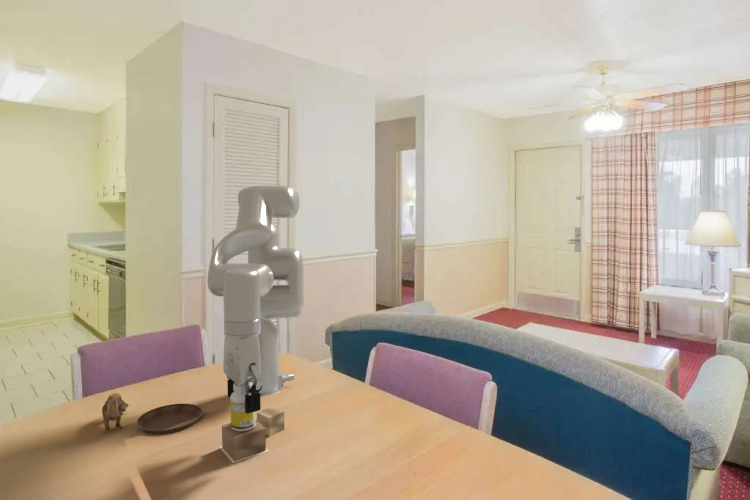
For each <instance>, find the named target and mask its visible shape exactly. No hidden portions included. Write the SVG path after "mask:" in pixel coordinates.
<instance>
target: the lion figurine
mask: <svg viewBox="0 0 750 500" xmlns="http://www.w3.org/2000/svg"><path fill="white" fill-rule="evenodd" d="M127 408H129V404H128V403H126V402H125V401H124V400H123V399H122V395H121V394H120V393H117V392H113V393H111V394H109V395H108V397H107V399H106V401H105V402H104V404H103V406H102V407H101V413H102V418H103V423H104V429H103V432H104V433H109V432H110V429H111V426H110V423H109V422H112V421H115V428H116V429H117V430H120V429H122V428H123V425H121V419H122V418H121V417H122V415H124V413H125V412H127V411H126V410H127Z"/></svg>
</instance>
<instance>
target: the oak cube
mask: <svg viewBox="0 0 750 500" xmlns="http://www.w3.org/2000/svg"><path fill="white" fill-rule="evenodd" d="M256 414H257V421H258V422H259V423H260V424H261V425H262V426H263V427H265V428H266V437H272V436H274V435H276V434H278V433H280V432H282V431H284V430H285V410H282V409H280V408H278V407H275V406H273V405H272V406H269V407H266V408H265V409H262V410H259V411H256Z"/></svg>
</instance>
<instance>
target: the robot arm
mask: <svg viewBox="0 0 750 500" xmlns="http://www.w3.org/2000/svg"><path fill="white" fill-rule="evenodd" d="M237 203H238V212H237V221H236V227H235V228H234V229H233V230H231V231H230V232H229V233H227V234H226V235H225V236H224V237H223V238H222V239H220V241H219V242H218V243H217V244H216V246H214V249H213V250H212V253H211V256H210V261H209V266H208V270H207V280H206V281H207V283H206V284H207V288H208V290H209V292H210V294H211V295H213V296H216V297H221V298H222V297H223V335H224V341H223V365H222V366H223V367H222V368H223V373H224V375H226V379H227V381H226V382H227V397H228V398H229V399H230V396H231V394H232V393H233V392H234V390H233V384H234V382H235V383H237V384H238V385H242V384H243V383H244V386H245V390H246V393H247V394H246V395H245V413H247V414H249V413H252V412H256V413H257V412H260V411H261V397H268V396H273V395H276V394H278V393H281V392H282V391H283V390H284V388H285V385H284V384H285V382H291V381H294V380H295V375H294V374H293V373H289V374H286V372H282V373H280V349H279V348H280V345H279V344H280V342H279V341H280V339H279V338H280V335H279V330H278V328H277V326H276V325H275V323H274V322H273V321H272V320H271V319H282V318H283V319H288V318H291V319H292V318H298V317H299V316H301V314H302V313H303V310H304V260H303V256H302V253H301V252H300V251H299V250H298V249H296V248H290V247H289V248H288V247H287V248H283V247H282V248H279V246H278V245H279V232H278V230H277V229H276V226H274V224H273V220H272V219H274V218H275V219H277V218H278V219H279V218H280V219H281V218H282V219H285V218H289V219H292V218H294V217H296V216H297V214H298V212H299V209H300V197H299V193H298V191H297V189H296V188H295V187H293V186H284V185H251V186H248V187H245V188H241V190H239V192H238V194H237ZM245 252H247V254H248V255H247V263H245V262H244V263H234V262H233V263H228V262H229V261H230V260H231V259H233V258H234V257H236V256H238V255H240V254H243V253H245ZM274 281H280V282H281V281H283V282H286V283H287V284H274ZM250 383H252V386H251V388H250V387H249V384H250Z"/></svg>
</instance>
